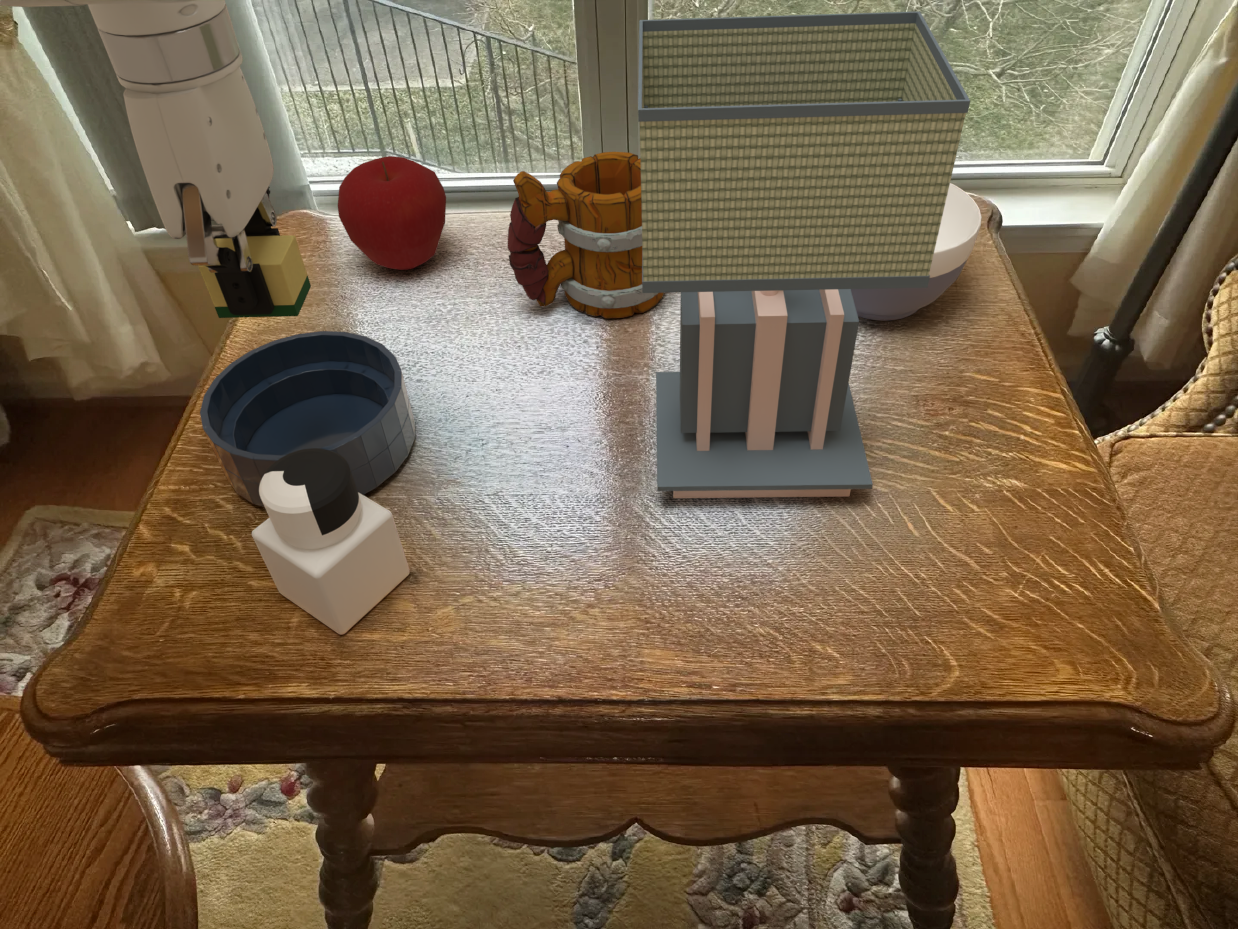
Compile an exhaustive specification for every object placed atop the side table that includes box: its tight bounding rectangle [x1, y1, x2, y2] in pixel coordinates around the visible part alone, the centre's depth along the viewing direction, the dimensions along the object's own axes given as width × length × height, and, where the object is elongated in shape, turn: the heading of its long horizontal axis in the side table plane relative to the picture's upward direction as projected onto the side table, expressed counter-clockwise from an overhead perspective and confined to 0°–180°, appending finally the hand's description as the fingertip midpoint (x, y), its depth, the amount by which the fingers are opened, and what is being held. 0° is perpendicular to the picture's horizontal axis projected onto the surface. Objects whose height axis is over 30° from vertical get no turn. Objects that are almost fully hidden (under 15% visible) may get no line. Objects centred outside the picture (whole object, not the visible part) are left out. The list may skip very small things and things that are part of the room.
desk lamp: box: [637, 10, 971, 499], centre depth 68 cm, size 18×14×33 cm
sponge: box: [198, 234, 312, 319], centre depth 70 cm, size 6×4×4 cm, turn 89°
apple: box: [337, 155, 447, 271], centre depth 98 cm, size 11×11×12 cm
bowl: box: [851, 182, 982, 322], centre depth 92 cm, size 16×16×10 cm
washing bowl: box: [199, 330, 416, 508], centre depth 80 cm, size 16×16×6 cm
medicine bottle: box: [251, 448, 411, 636], centre depth 67 cm, size 7×7×12 cm
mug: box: [507, 151, 665, 319], centre depth 91 cm, size 11×16×15 cm, turn 113°
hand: (261, 291), depth 71 cm, fingers closed on sponge, 4 cm apart
